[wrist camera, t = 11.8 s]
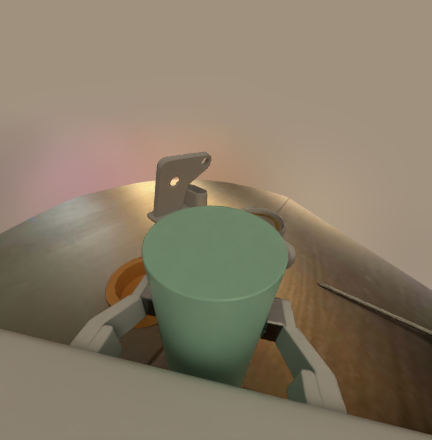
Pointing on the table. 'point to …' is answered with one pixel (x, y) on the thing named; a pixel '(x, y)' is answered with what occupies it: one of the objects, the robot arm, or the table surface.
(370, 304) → the screwdriver
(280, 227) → the coffee mug
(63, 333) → the table surface
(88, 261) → the table surface
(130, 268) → the holder
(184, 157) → the phone holder
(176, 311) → the can
